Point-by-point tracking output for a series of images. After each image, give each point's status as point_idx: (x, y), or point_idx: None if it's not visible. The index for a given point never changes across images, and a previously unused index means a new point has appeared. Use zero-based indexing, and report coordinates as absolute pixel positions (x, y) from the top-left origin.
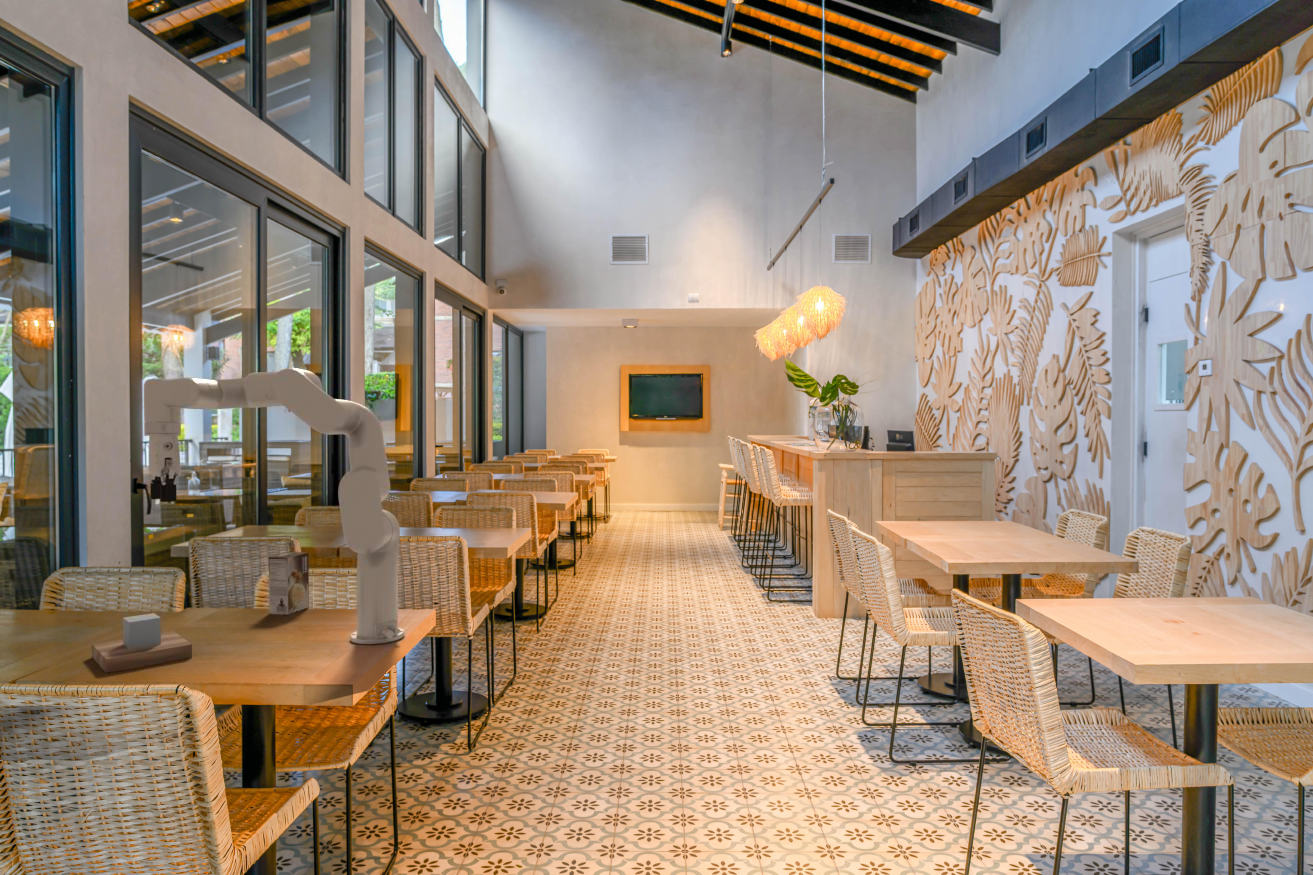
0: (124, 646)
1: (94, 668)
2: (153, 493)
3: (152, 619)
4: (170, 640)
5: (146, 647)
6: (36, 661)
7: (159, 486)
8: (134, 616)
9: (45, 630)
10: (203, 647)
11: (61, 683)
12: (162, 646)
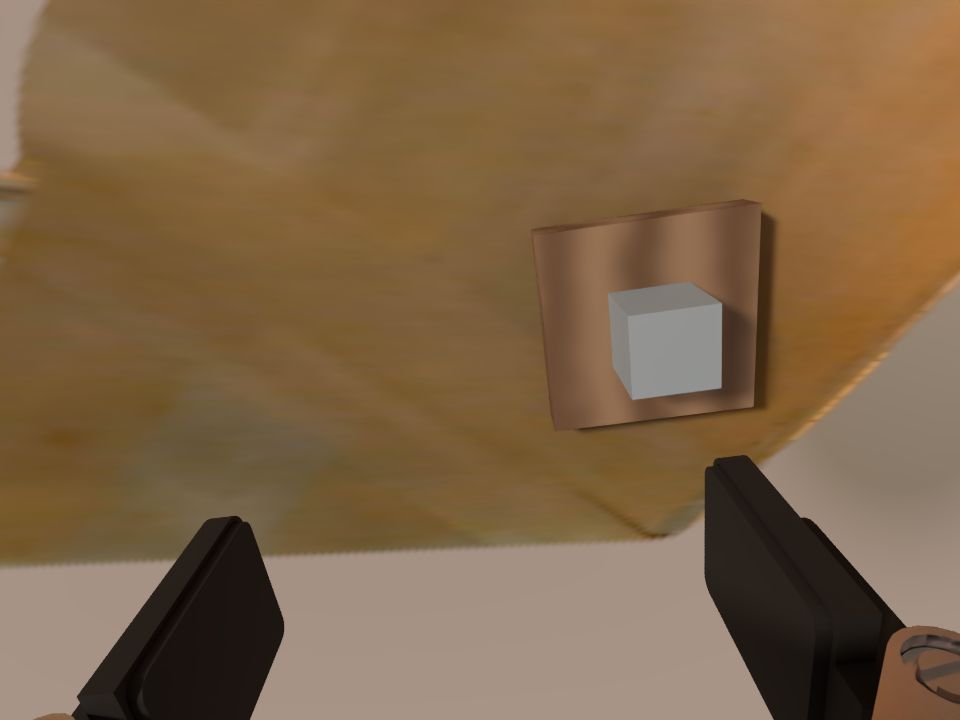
0: None
1: None
2: (259, 670)
3: (720, 325)
4: (663, 254)
5: None
6: (507, 509)
7: (195, 703)
8: (639, 371)
9: (161, 503)
10: (645, 155)
11: None
12: (722, 279)
